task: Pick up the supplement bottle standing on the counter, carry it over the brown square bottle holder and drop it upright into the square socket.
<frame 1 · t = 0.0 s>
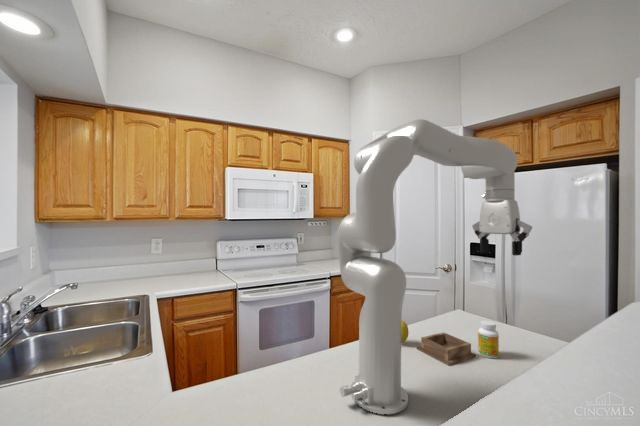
hand: (499, 253, 88), 31 cm above the countertop, tool pointing down, fingers open, 9 cm apart
brown square bottle holder: (445, 352, 91), on the countertop
lemon: (399, 344, 97), on the countertop
supplement bottle: (488, 355, 90), on the countertop
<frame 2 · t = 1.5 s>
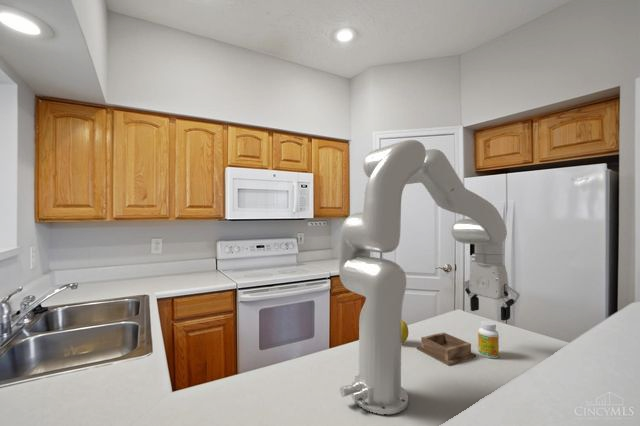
hand: (489, 314, 90), 12 cm above the countertop, tool pointing down, fingers open, 9 cm apart
nothing on the countertop moved.
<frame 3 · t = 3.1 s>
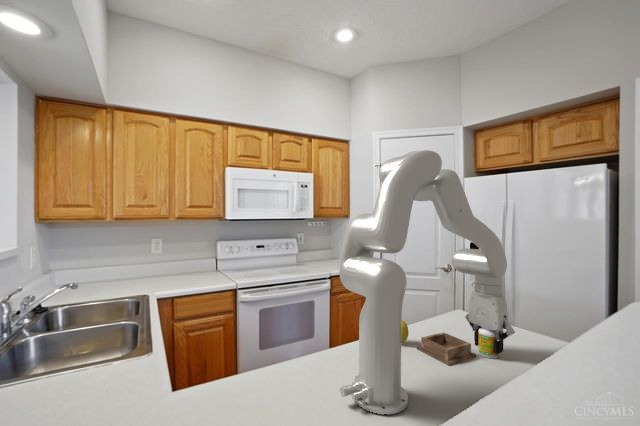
hand: (488, 348, 90), 2 cm above the countertop, tool pointing down, fingers closed on supplement bottle, 5 cm apart
supplement bottle: (488, 355, 90), on the countertop, touching gripper
everything else where it was.
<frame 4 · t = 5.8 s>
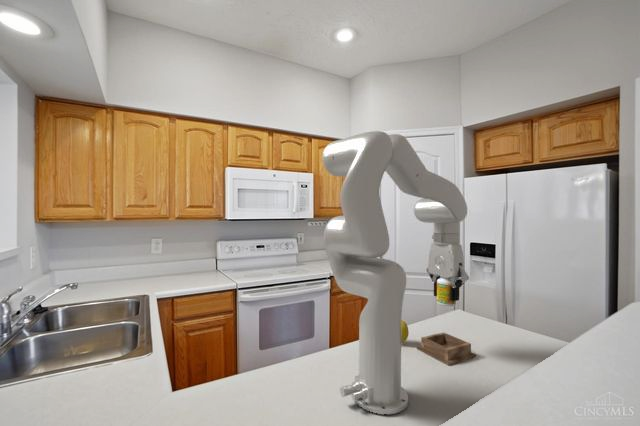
hand: (446, 297, 91), 17 cm above the countertop, tool pointing down, fingers closed on supplement bottle, 5 cm apart
supplement bottle: (446, 304, 91), point 15 cm above the countertop, touching gripper
everything else where it was.
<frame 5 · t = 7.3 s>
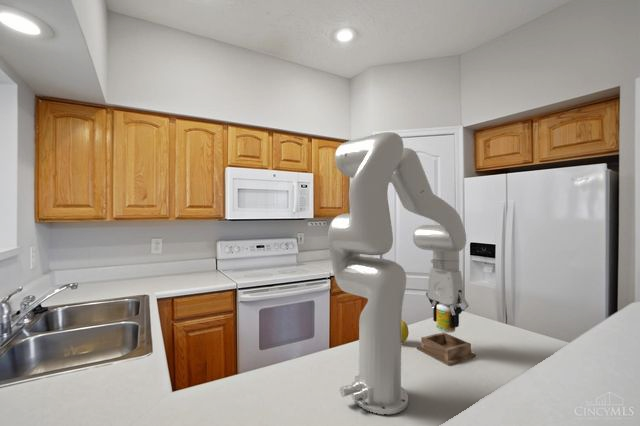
hand: (445, 323, 91), 9 cm above the countertop, tool pointing down, fingers closed on supplement bottle, 5 cm apart
supplement bottle: (445, 330, 91), point 7 cm above the countertop, touching gripper
everything else where it was.
when the fingers open (7 cm above the countertop, at t = 8.6 s): supplement bottle drops 4 cm, resting on brown square bottle holder.
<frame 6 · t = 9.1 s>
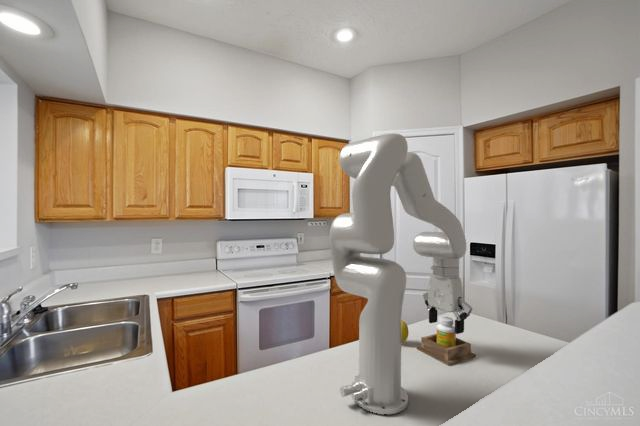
hand: (445, 327, 91), 8 cm above the countertop, tool pointing down, fingers open, 9 cm apart
supplement bottle: (446, 351, 90), point 1 cm above the countertop, touching brown square bottle holder
everything else where it was.
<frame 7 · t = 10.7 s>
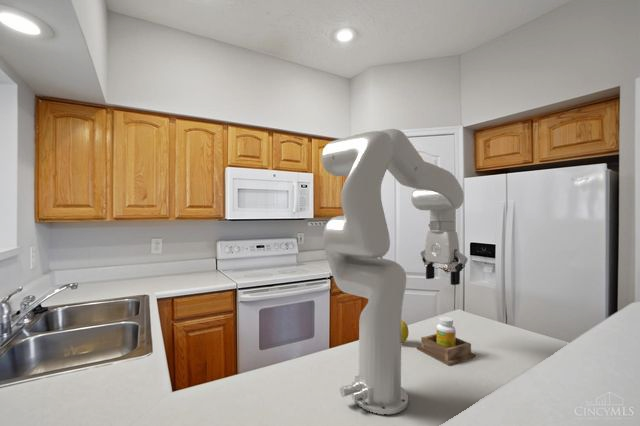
hand: (442, 281, 93), 22 cm above the countertop, tool pointing down, fingers open, 9 cm apart
nothing on the countertop moved.
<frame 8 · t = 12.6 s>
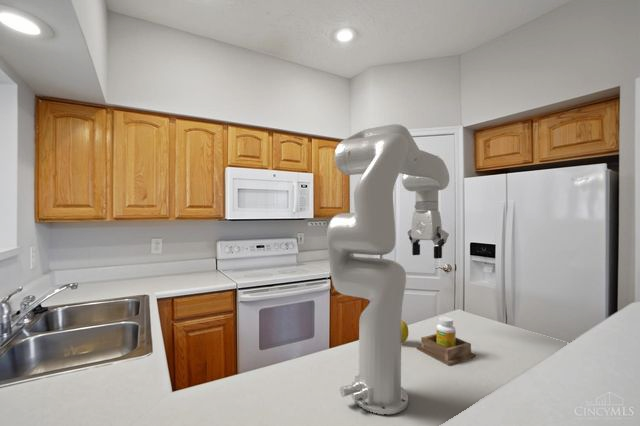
hand: (426, 256, 102), 28 cm above the countertop, tool pointing down, fingers open, 9 cm apart
nothing on the countertop moved.
at the end: supplement bottle 0.3 cm off-centre on the brown square bottle holder, point 0.6 cm above the brown square bottle holder's base; supplement bottle tilted 0°; the gripper is holding nothing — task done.
